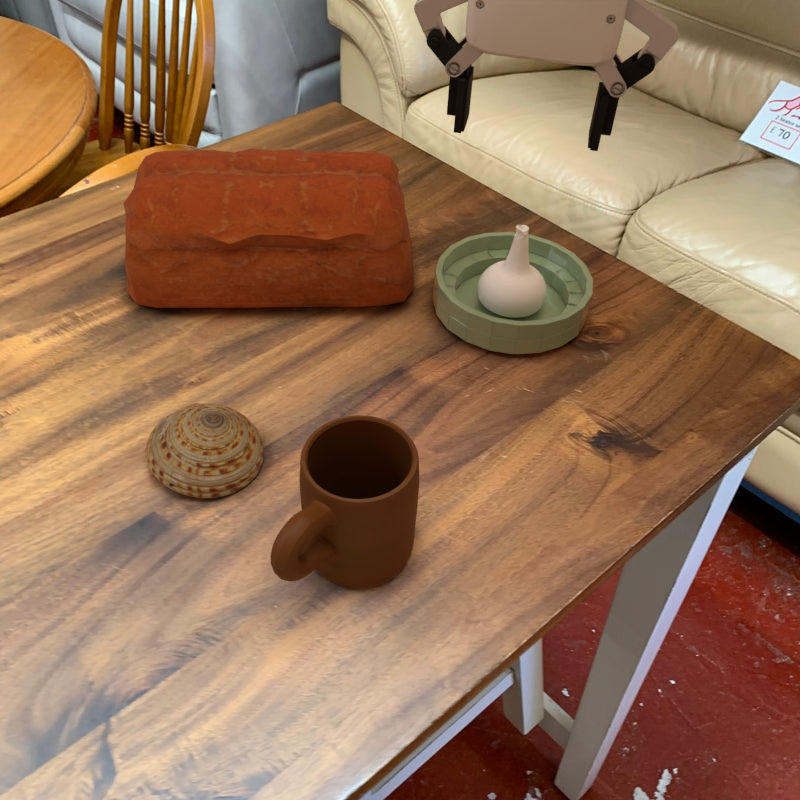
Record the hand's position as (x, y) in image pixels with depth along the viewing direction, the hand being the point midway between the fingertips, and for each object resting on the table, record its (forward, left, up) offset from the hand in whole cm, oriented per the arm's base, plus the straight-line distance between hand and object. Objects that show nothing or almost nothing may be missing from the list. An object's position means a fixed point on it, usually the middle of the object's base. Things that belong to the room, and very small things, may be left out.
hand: (526, 133), depth 60 cm
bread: (+22, -7, -20) cm, 31 cm away
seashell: (+21, +18, -20) cm, 34 cm away
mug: (+9, +26, -20) cm, 34 cm away
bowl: (-1, -5, -20) cm, 21 cm away
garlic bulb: (-1, -5, -20) cm, 20 cm away
